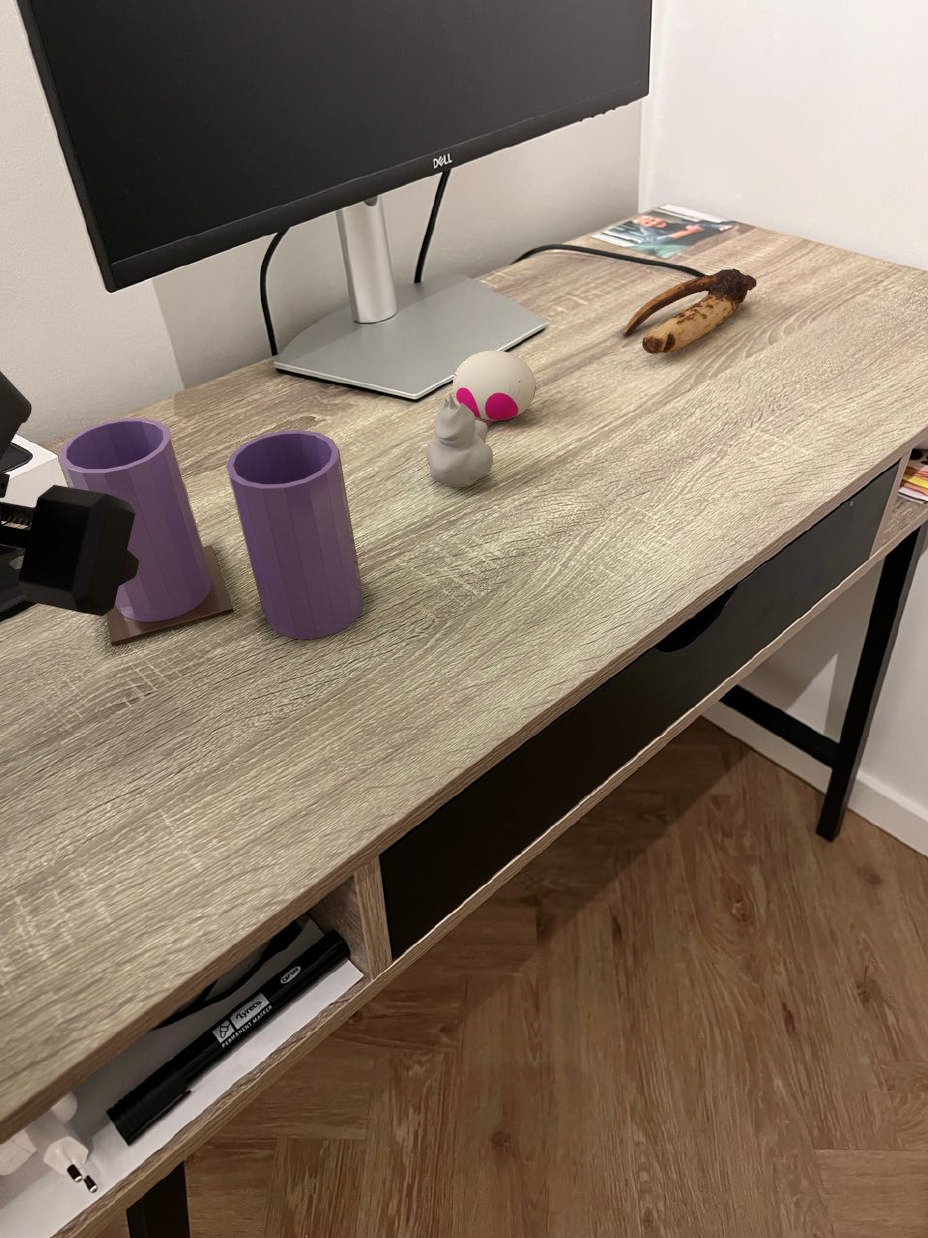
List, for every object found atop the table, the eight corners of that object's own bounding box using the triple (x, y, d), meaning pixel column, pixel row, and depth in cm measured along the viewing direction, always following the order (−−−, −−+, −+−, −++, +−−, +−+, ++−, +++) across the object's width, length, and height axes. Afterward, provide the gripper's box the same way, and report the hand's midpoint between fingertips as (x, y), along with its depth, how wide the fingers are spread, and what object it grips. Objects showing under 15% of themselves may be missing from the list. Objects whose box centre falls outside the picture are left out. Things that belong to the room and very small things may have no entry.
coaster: (112, 646, 66) (110, 642, 66) (100, 578, 72) (99, 574, 72) (234, 612, 68) (232, 608, 68) (213, 548, 74) (211, 544, 74)
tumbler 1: (139, 635, 66) (84, 485, 59) (99, 589, 71) (43, 443, 63) (229, 592, 69) (188, 443, 62) (186, 550, 74) (142, 407, 66)
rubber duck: (413, 488, 79) (402, 399, 74) (456, 451, 83) (449, 363, 78) (469, 505, 77) (463, 414, 72) (511, 465, 81) (508, 376, 76)
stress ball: (453, 450, 90) (427, 415, 84) (479, 373, 91) (455, 333, 85) (529, 461, 87) (507, 426, 81) (554, 382, 88) (535, 341, 82)
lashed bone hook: (687, 294, 107) (593, 352, 96) (690, 250, 104) (593, 305, 93) (766, 310, 101) (676, 372, 91) (771, 264, 99) (679, 323, 88)
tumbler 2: (277, 651, 65) (238, 498, 57) (255, 592, 70) (217, 445, 62) (375, 622, 67) (351, 470, 59) (347, 567, 72) (322, 420, 64)
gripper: (50, 353, 43) (231, 449, 58) (-248, 317, 49) (-14, 413, 64) (-8, 597, 43) (190, 632, 58) (-303, 532, 49) (-54, 579, 63)
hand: (74, 556), depth 61 cm, fingers open, 9 cm apart
